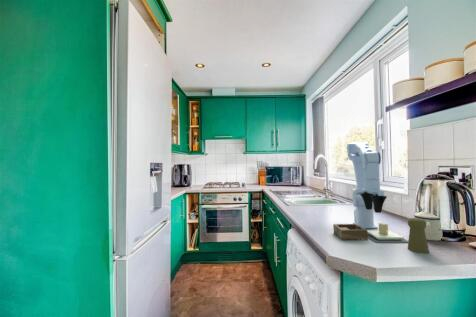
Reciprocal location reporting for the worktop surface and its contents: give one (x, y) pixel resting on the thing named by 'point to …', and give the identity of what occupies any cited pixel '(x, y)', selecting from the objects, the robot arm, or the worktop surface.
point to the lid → (384, 233)
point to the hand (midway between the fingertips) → (373, 210)
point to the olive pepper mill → (417, 236)
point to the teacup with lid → (431, 225)
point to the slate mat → (386, 240)
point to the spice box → (350, 232)
